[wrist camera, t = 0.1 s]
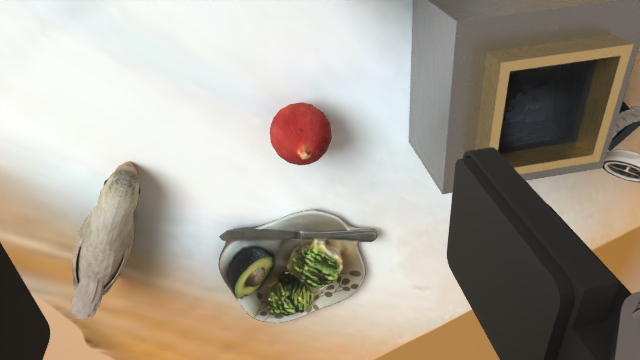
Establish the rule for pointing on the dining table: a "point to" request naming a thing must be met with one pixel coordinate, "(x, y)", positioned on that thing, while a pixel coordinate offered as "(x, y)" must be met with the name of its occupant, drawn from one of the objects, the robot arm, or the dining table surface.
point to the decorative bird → (105, 241)
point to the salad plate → (293, 264)
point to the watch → (622, 160)
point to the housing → (519, 82)
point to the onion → (300, 133)
